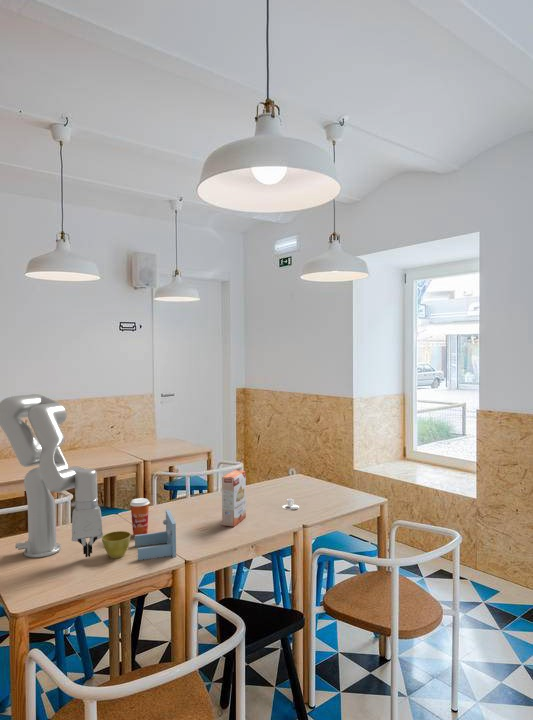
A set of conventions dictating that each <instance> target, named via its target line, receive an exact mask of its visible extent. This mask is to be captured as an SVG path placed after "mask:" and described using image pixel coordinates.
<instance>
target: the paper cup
mask: <svg viewBox="0 0 533 720" xmlns="http://www.w3.org/2000/svg"><path fill="white" fill-rule="evenodd" d="M149 504H151V502H150V500H149V499H148V498H144V497H140V498H134V499H131V502H130V503H129V505H130V511H131V512H130V514H131V525H132V526H131V527H132V535H133V537H134V538H135V535H141V534H148V533H149V532H148V529H149Z"/></svg>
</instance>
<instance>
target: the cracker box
mask: <svg viewBox="0 0 533 720" xmlns="http://www.w3.org/2000/svg"><path fill="white" fill-rule="evenodd" d="M246 474H247V473H246V470H235V469H234V470H233V471H231V472H229V473H226V475H224V476H222V478H221V494H222V495H221V496H222V497H221V498H222V500H221V501H222V502H221V504H222V505H221V506H222V507H221V515H222V516H221V520H222V522H221V523H222V524H221V525H222V527H224V526H225V527H236V525H238V524H239V523H240V522H242V521H243V520H244V519H246V516H247V515H246V514H247V505H246V504H247V501H246V500H247V499H246V498H247V497H246V495H247V494H246V493H247V489H246V488H247V487H246V486H247V485H246V483H247V479H246V477H247V475H246Z"/></svg>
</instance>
